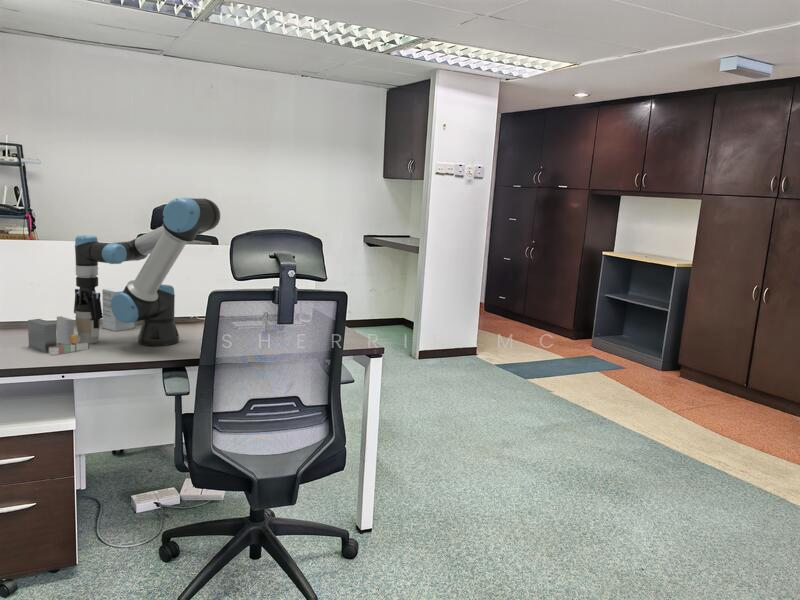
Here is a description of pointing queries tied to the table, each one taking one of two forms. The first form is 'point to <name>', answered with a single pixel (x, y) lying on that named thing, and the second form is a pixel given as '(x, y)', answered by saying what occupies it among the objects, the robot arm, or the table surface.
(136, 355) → the table surface
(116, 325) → the supplement box
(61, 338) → the light grey slab
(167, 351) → the table surface
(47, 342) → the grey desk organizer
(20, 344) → the table surface
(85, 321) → the coffee cup
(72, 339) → the orange stepped block
